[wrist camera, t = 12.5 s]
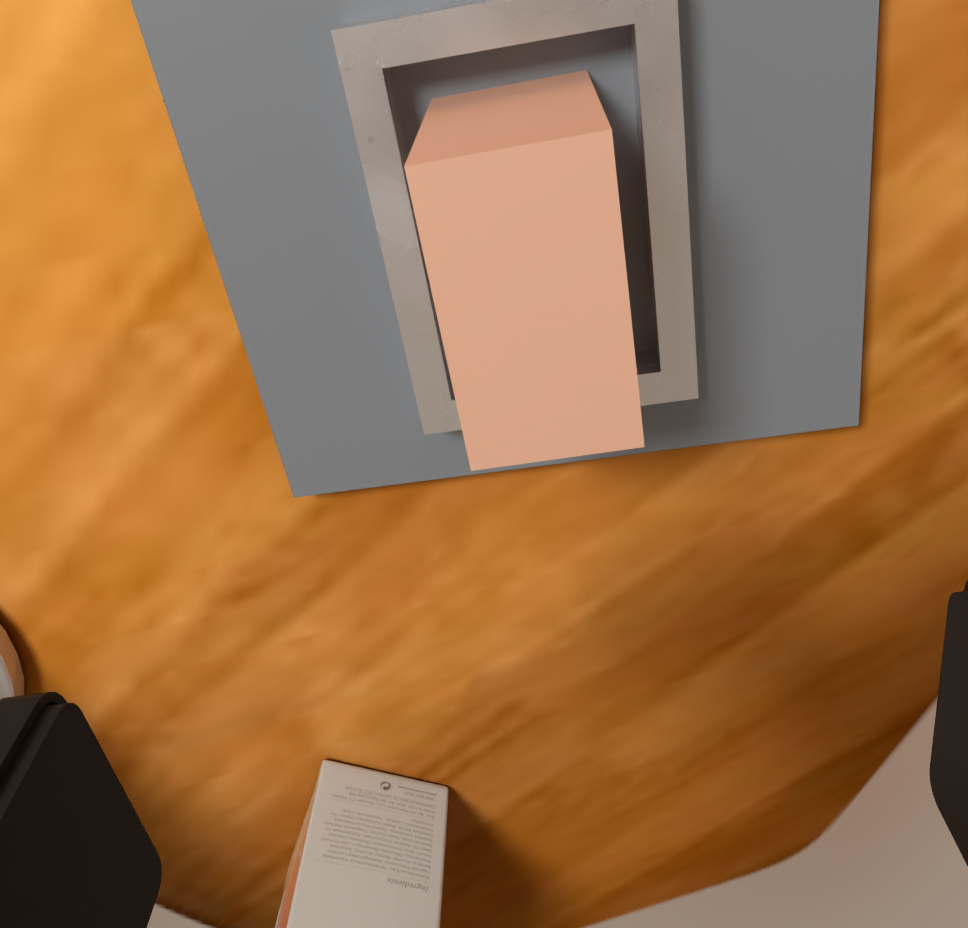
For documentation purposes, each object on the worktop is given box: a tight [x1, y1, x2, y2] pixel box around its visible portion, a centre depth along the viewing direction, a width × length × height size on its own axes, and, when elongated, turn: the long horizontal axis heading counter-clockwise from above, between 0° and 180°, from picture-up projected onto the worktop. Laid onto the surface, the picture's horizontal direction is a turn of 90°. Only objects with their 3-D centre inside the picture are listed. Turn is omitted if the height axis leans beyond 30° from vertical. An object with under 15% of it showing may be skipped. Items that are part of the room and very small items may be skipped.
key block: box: [404, 70, 645, 471], centre depth 22 cm, size 7×4×7 cm, turn 10°
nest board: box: [131, 0, 879, 497], centre depth 25 cm, size 18×16×2 cm
